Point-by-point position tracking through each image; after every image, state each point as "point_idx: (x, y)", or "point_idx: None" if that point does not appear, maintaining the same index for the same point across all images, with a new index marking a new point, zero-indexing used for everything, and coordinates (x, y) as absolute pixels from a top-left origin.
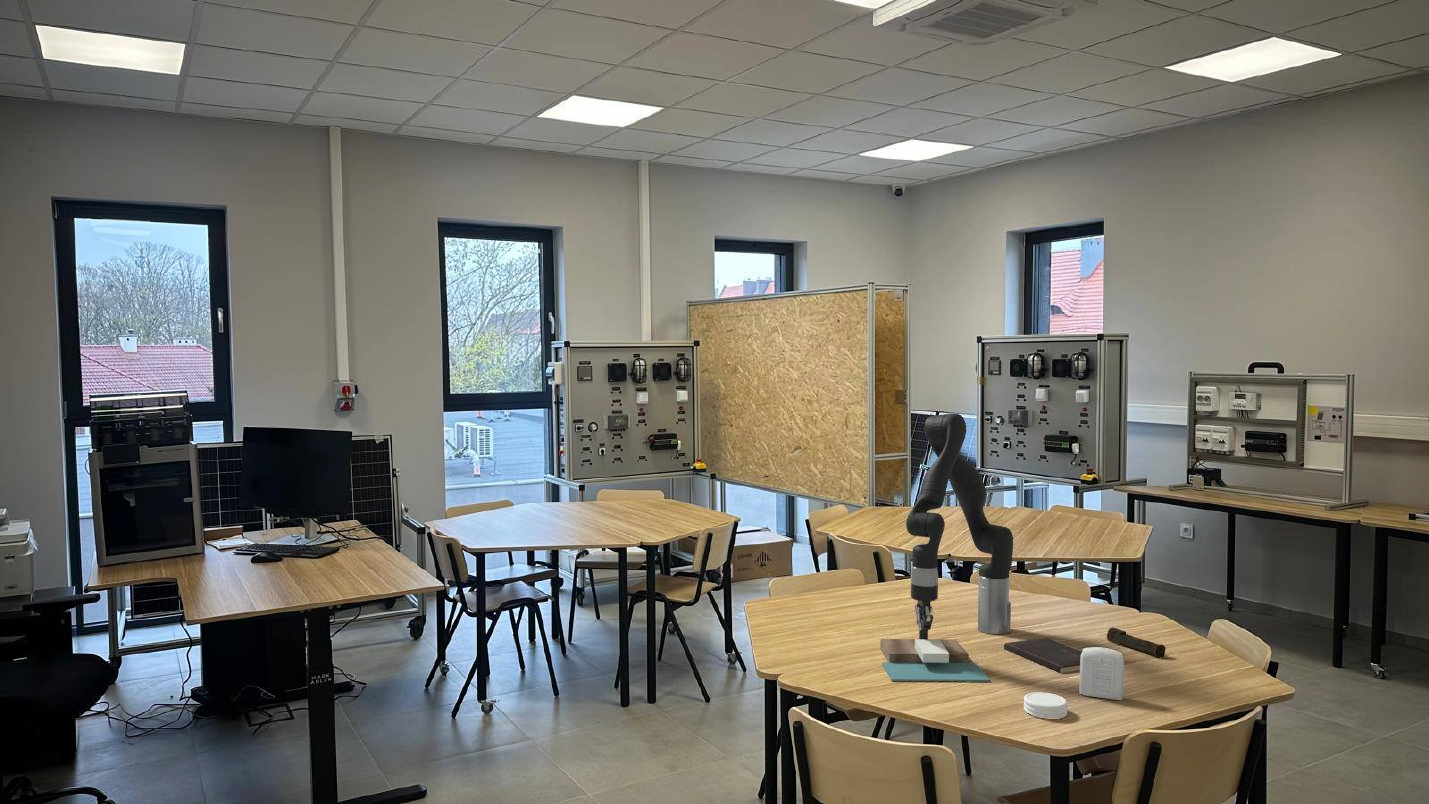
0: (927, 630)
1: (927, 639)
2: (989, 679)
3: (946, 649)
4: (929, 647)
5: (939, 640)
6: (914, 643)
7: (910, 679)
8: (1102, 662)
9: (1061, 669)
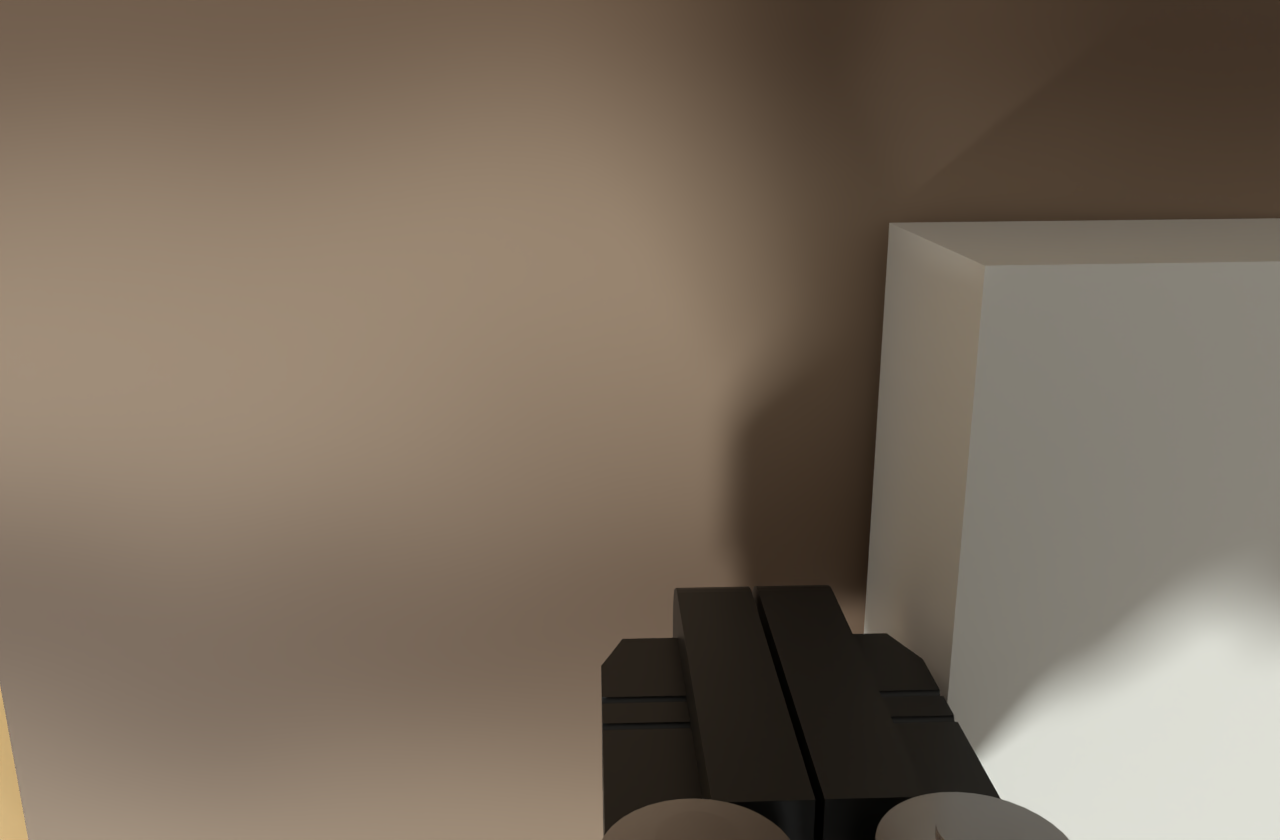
0: (924, 816)
1: (954, 664)
2: None
3: (942, 15)
4: None
5: (1083, 293)
6: (407, 760)
7: None
8: None
9: None
